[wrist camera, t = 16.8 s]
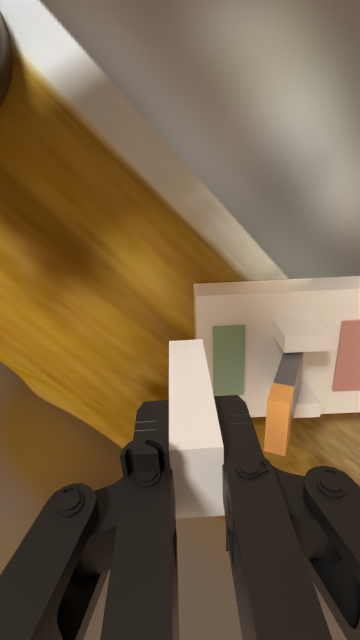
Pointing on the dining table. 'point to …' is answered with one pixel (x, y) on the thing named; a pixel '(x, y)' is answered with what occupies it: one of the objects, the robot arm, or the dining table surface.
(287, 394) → the breaker lever
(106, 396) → the dining table surface
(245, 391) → the box
